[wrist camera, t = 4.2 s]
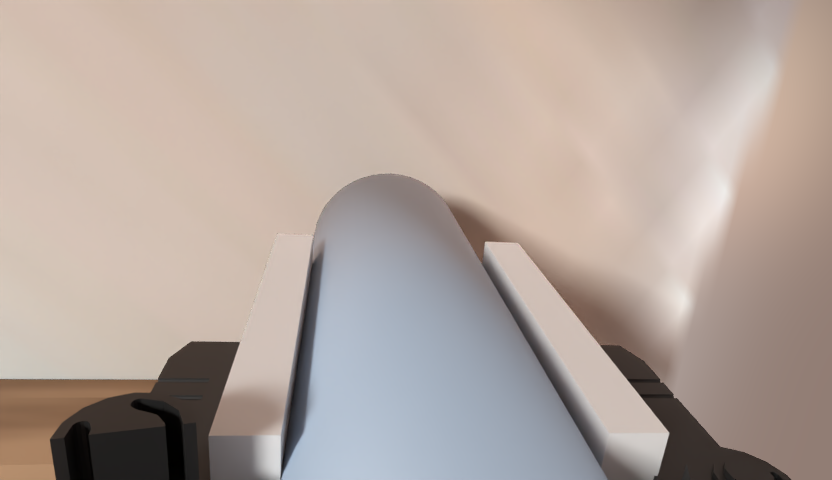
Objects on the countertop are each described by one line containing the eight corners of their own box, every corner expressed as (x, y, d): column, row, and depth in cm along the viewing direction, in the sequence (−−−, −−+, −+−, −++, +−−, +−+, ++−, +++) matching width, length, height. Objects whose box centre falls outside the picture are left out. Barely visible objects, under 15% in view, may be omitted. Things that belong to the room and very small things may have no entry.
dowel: (315, 169, 15) (227, 557, 4) (465, 177, 16) (760, 540, 4) (312, 307, 17) (240, 892, 5) (450, 310, 17) (651, 849, 6)
